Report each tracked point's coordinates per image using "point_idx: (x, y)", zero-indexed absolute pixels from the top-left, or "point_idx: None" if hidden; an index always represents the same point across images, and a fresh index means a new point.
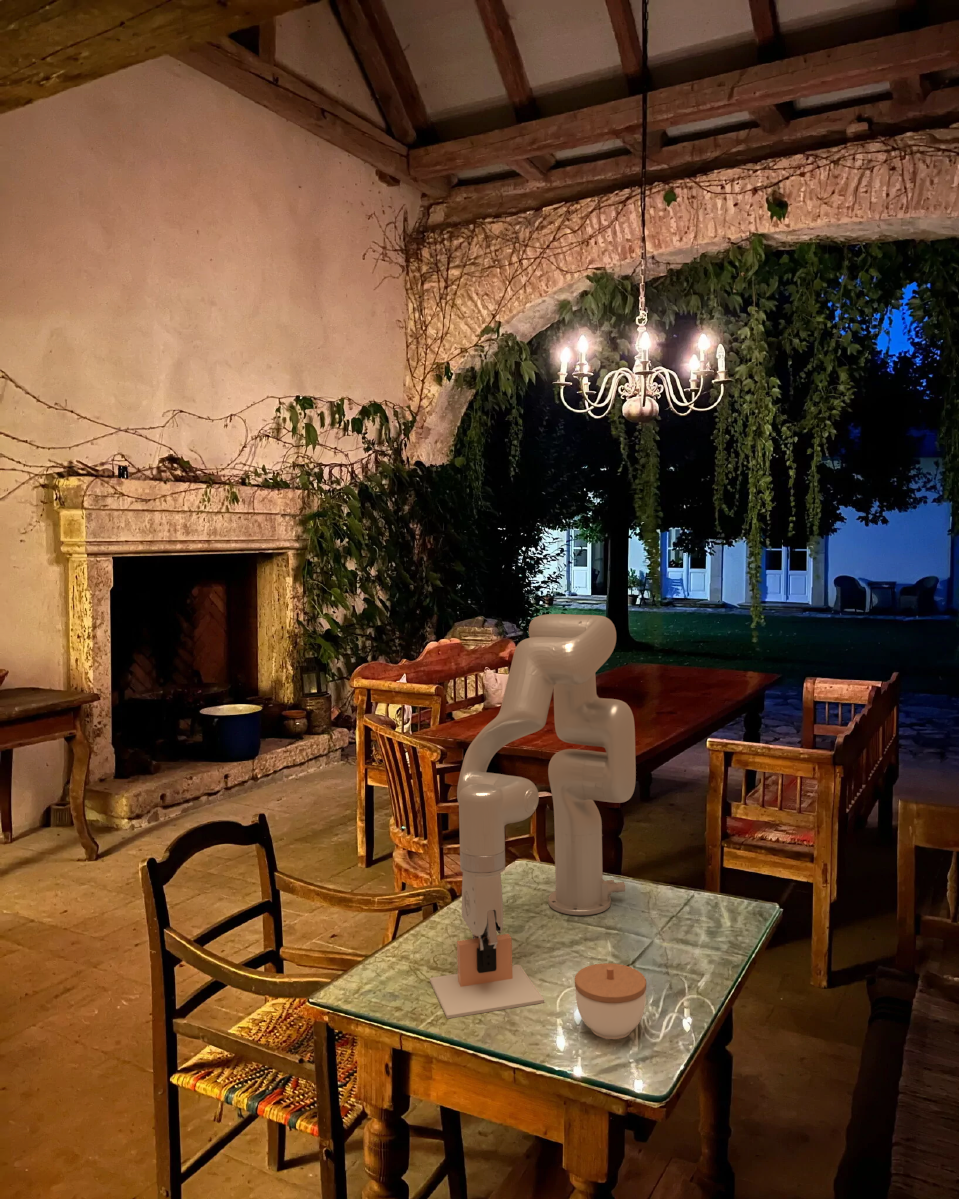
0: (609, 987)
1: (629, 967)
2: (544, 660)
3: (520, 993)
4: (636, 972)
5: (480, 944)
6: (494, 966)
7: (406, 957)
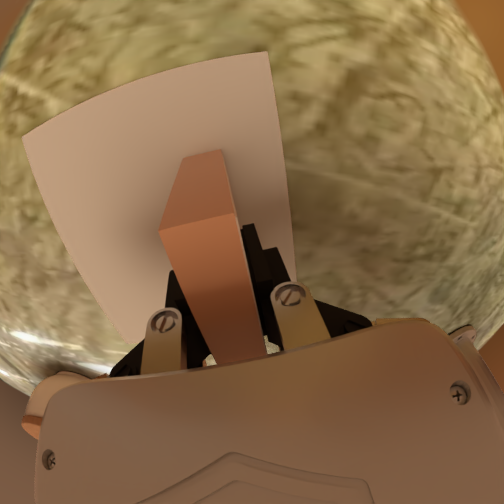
0: None
1: None
2: None
3: (145, 311)
4: None
5: (145, 340)
6: None
7: (423, 31)
